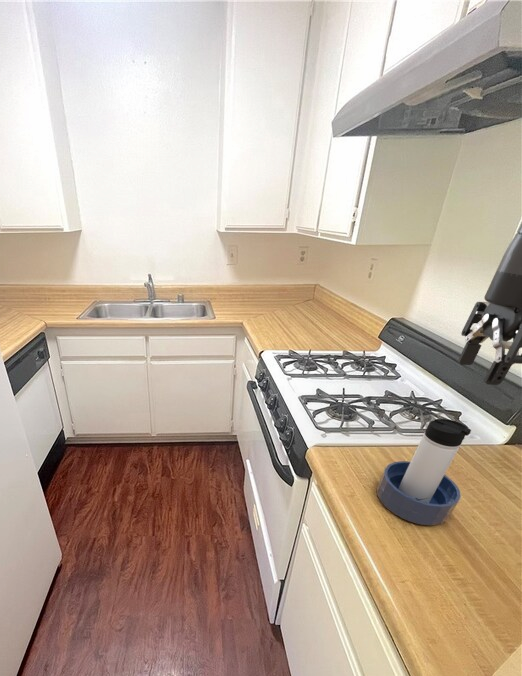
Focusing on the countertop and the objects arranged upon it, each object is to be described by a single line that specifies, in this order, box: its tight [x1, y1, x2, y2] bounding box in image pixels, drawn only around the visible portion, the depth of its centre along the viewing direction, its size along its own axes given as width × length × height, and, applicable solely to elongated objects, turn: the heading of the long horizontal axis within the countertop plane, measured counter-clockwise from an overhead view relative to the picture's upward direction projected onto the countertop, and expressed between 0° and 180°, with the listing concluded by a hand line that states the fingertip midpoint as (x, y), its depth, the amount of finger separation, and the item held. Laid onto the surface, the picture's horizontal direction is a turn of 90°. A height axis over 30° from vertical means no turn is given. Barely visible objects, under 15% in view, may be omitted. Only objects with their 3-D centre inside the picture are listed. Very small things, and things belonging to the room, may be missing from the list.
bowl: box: [376, 460, 462, 526], centre depth 75 cm, size 14×14×6 cm
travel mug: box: [398, 418, 472, 503], centre depth 71 cm, size 6×7×20 cm
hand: (476, 373), depth 59 cm, fingers open, 8 cm apart
